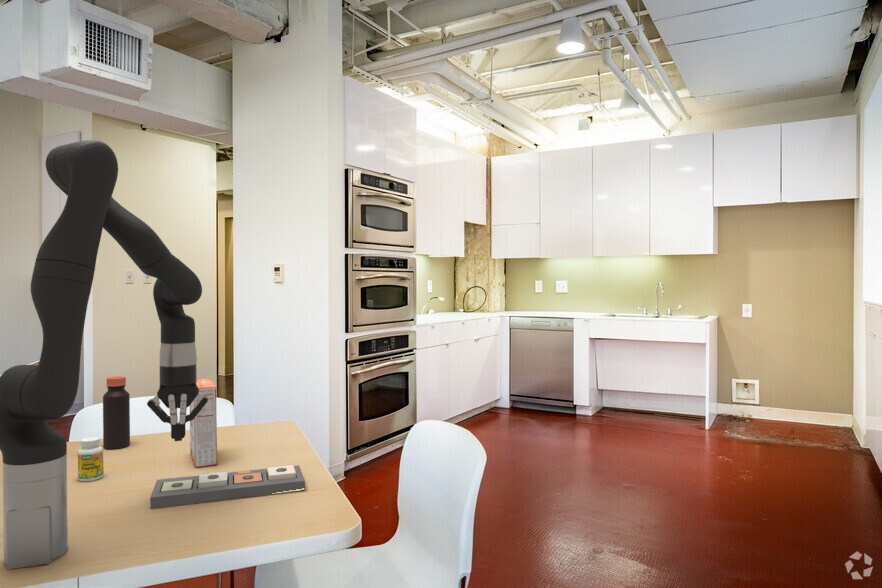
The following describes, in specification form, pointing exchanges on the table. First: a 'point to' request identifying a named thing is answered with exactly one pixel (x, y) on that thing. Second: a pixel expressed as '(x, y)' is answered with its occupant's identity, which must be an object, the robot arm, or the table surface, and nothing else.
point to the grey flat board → (223, 489)
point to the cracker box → (204, 427)
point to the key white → (212, 480)
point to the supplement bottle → (90, 460)
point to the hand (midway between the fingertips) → (178, 440)
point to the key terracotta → (247, 478)
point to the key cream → (281, 473)
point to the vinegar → (116, 414)
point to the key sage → (177, 485)
